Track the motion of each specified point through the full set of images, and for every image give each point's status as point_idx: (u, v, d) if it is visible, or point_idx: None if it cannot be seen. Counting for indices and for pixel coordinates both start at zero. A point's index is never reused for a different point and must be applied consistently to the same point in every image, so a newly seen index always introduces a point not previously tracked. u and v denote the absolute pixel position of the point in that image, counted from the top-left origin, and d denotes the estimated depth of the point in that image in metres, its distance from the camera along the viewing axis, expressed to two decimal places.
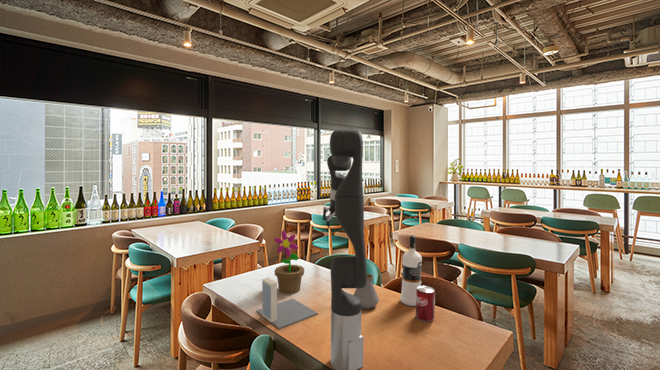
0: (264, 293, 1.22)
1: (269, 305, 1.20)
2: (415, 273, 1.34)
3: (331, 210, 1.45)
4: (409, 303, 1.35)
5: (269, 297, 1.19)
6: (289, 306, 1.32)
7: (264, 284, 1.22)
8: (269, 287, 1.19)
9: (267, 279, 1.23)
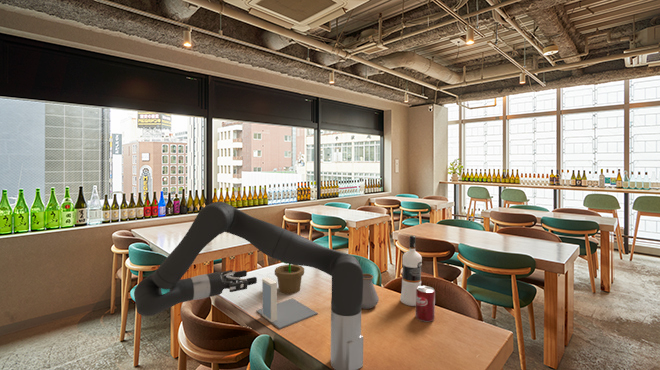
0: (264, 293, 1.22)
1: (269, 305, 1.20)
2: (415, 273, 1.34)
3: (228, 281, 1.05)
4: (409, 303, 1.35)
5: (269, 297, 1.19)
6: (289, 306, 1.32)
7: (264, 284, 1.22)
8: (269, 287, 1.19)
9: (267, 279, 1.23)
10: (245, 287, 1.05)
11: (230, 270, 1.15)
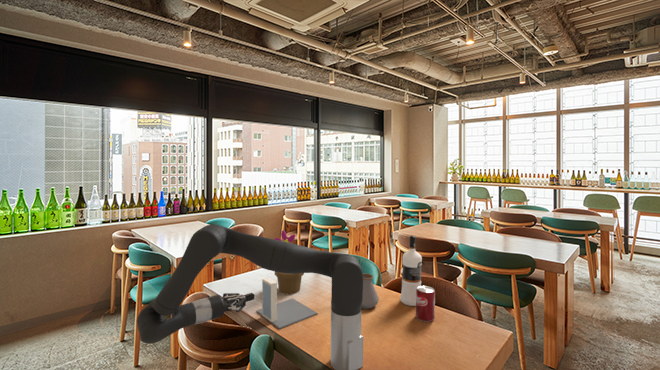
0: (264, 293, 1.22)
1: (269, 305, 1.20)
2: (415, 273, 1.34)
3: (229, 303, 1.07)
4: (409, 303, 1.35)
5: (269, 297, 1.19)
6: (289, 306, 1.32)
7: (264, 284, 1.22)
8: (269, 287, 1.19)
9: (267, 279, 1.23)
10: (245, 304, 1.11)
11: (237, 293, 1.15)
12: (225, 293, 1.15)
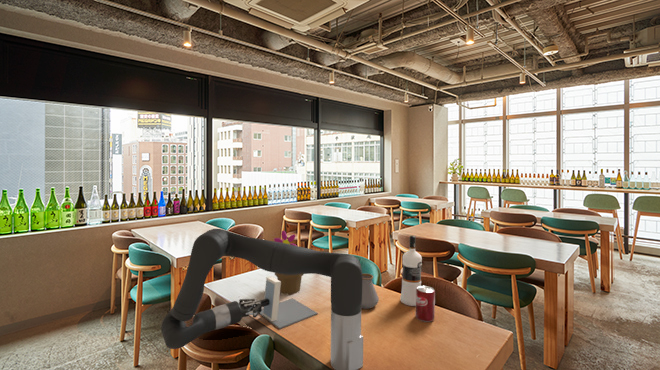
0: (266, 292, 1.23)
1: (271, 304, 1.20)
2: (415, 273, 1.34)
3: (246, 309, 1.12)
4: (409, 303, 1.35)
5: (272, 296, 1.20)
6: (289, 306, 1.32)
7: (268, 282, 1.23)
8: (273, 285, 1.20)
9: (271, 278, 1.24)
10: (261, 309, 1.16)
11: (252, 299, 1.20)
12: (241, 299, 1.20)
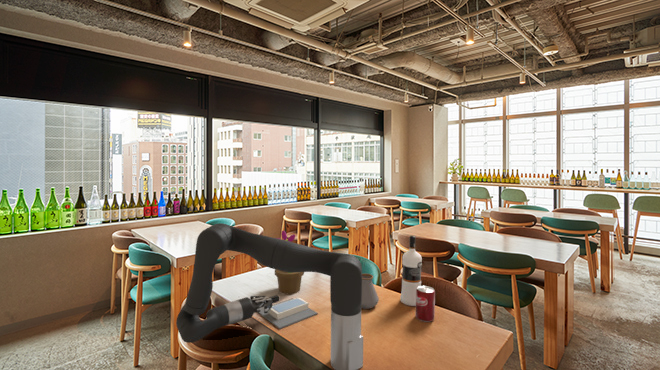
0: (290, 302, 1.31)
1: (289, 307, 1.26)
2: (415, 273, 1.34)
3: (258, 305, 1.15)
4: (409, 303, 1.35)
5: (295, 305, 1.28)
6: None
7: (298, 299, 1.33)
8: (303, 302, 1.30)
9: None
10: (271, 305, 1.19)
11: (263, 296, 1.23)
12: None
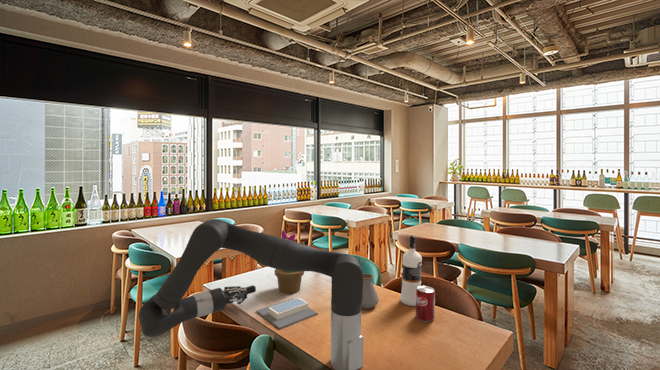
0: (290, 302, 1.31)
1: (289, 307, 1.26)
2: (415, 273, 1.34)
3: (230, 296, 1.07)
4: (409, 303, 1.35)
5: (295, 305, 1.28)
6: None
7: (298, 299, 1.33)
8: (303, 302, 1.30)
9: None
10: (246, 296, 1.11)
11: (238, 286, 1.15)
12: None
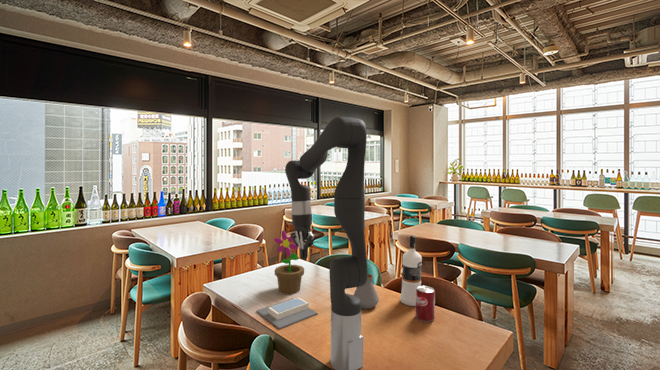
0: (290, 302, 1.31)
1: (289, 307, 1.26)
2: (415, 273, 1.34)
3: None
4: (409, 303, 1.35)
5: (295, 305, 1.28)
6: None
7: (298, 299, 1.33)
8: (303, 302, 1.30)
9: None
10: (307, 246, 1.15)
11: None
12: None
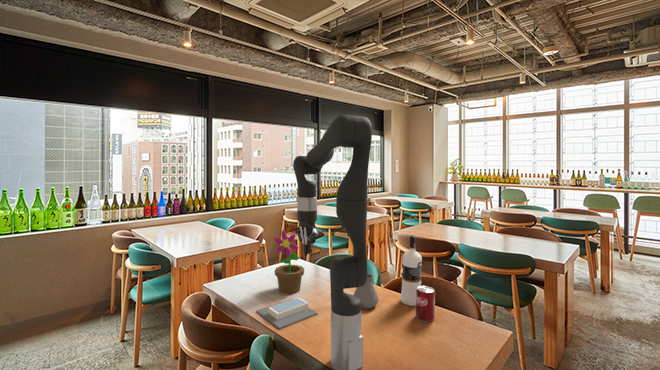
0: (290, 302, 1.31)
1: (289, 307, 1.26)
2: (415, 273, 1.34)
3: None
4: (409, 303, 1.35)
5: (295, 305, 1.28)
6: None
7: (298, 299, 1.33)
8: (303, 302, 1.30)
9: None
10: (310, 243, 1.16)
11: None
12: None
